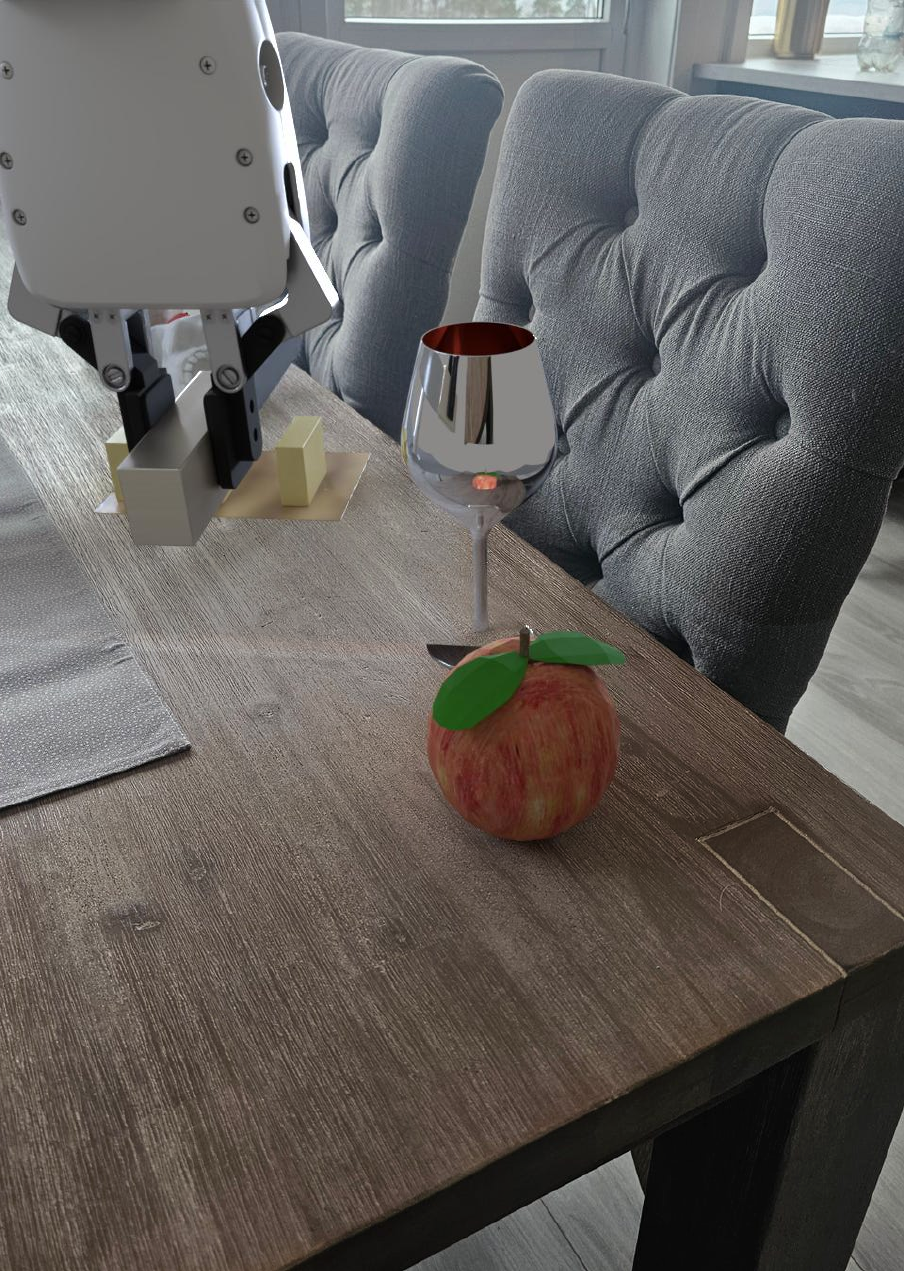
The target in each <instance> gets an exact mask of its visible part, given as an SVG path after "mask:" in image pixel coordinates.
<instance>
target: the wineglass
mask: <svg viewBox="0 0 904 1271" xmlns="http://www.w3.org/2000/svg"><path fill="white" fill-rule="evenodd" d="M542 358H543V357H542V355H541V350H540V346H539V343H538V339H537V335H536V334H535V332H533V331H532V330H531V329H529V328H526V327H523V326H520V325H518V324H514V323H507V322H499V321H484V320H483V321H481V320H480V321H461V322H453V323H449V324H444V325H440V326H437V327H434V328H432V329H429V330H427V331H425V333H423V334H422V335H421V337H420V341H419V344H418V348H417V352H416V356H415V361H414V364H413V370H412V374H411V379H410V383H409V387H408V392H407V397H406V403H405V407H404V413H403V417H402V419H403V420H402V424H401V433H400V453H401V458H402V462H403V465H404V468H405V470H406V472H407V474H408V476H409V478H410V479H411V480H412V482H413V484H414V485H415V486H416V487H417V489H418V490H419V491H420V492H421V493H422V494H423V495H424V496H425V497H426V498H427V499H428V500H429V501H431V502H432V503H433V504H434V505H436V506H437V507H439V508H440V509H442V510H443V511H444V512H446V513H448V514H449V515H451V516H452V517H454V518H455V519H456V520H458V522H460V523H461V524H462V525H463V526H465V528H466V529H467V531H468V532H469V533H470V535H471V537H472V564H473V565H472V568H473V571H472V574H473V577H472V578H473V614H472V624H471V629H472V630H473V632H477V633H484V632H485V633H486V632H487V631H489V630H490V628H491V627H490V622H489V608H488V606H489V605H488V539H489V538H488V537H489V535H490V534H491V531H492V530H493V528H494V527H495V526H496V525H497V524H498V523H500V521H501V520H503V519H504V518H505V517H507V516H509V515H510V514H511V513H513V512H514V511H516V510H517V509H518V508H519V507H521V506H522V505H523V504H525V503H526V502H528V501H529V500H530V499H531V498H532V497H533V496H534V495H535V494H537V493H538V491H539V490H540V489H541V488H542V486H543V485H544V484H545V482H546V481H547V479H548V478H549V476H550V475H551V473H552V471H553V469H554V466H555V464H556V460H557V456H558V448H559V434H558V426H557V419H556V415H555V409H554V405H553V400H552V396H551V391H550V386H549V383H548V378H547V374H546V370H545V367H544V362H543V359H542ZM525 628H527V629H529V630H530V637H534V638H536V637H535V634H534V632H533V631H532V629H531V628H530V627H529V626H528V624H526V625H525ZM481 647H483V646H477V645H457V644H456V645H455V644H435V643H433V644H432V643H426V650H427V652H428V654H429V655H430V657H431V658H432V659H433V660H434V661H435V662H437V663H438V664H439V665H441V666H443V667H444V668H447V669H449V670H452V669H453V668H454V667H455V666H456V665H457V664H458V663H459V662H460V661H461V660H462V659H463V658H464V657H465V656H467V655H468V654H469V653H471V652H473V651H475V650H477V649H479V648H481Z"/></svg>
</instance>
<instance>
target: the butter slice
mask: <svg viewBox="0 0 904 1271" xmlns="http://www.w3.org/2000/svg"><path fill="white" fill-rule="evenodd" d="M274 451H275V453H276V462H277V470H278V478H279V487H280V495H281V503H282V506H309V505H310V503H311V501H312V499H313V497H314V495H315V493H316V492H317V490H318V488H319V486H320V484H321V482H322V480H323V478H324V476H325V474H326V472H327V471H326V460H325V452H326V451H325V441H324V430H323V418H322V416H319V415H316V416H315V415H295V416H293V419H292V420H291V422H290V423H289V424H288V426H287V428H286V429H285V431H284V433H282V435H281V437H280V439H278V441H277V442H276V445H275V446H274Z"/></svg>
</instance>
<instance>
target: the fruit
mask: <svg viewBox="0 0 904 1271" xmlns="http://www.w3.org/2000/svg"><path fill="white" fill-rule="evenodd" d="M626 660H627V658H626V656H625V655H624V653H623V651H622V650H620V649H618V648H617V647H615V646H613V645H610V644H608V643H605V642H603V641H601V640H598V639H596V638H593V637H591V636H588V635H586V634H583V633H581V632H578V631H566V630H555V631H551V632H547V633H542V634H540V635H539V636H537V637H535V638H534V637H530V630H529V629H527V628H526V627H524V628H520V629H519V636H515V637H506V638H505V637H504V638H498V639H495V640H493V641H492V642H490V643H487V644H485V645H483V646H482V647H481V648H479V649H477V650H475V651H473V652H471V653H469V654H468V655H467V656H465V657H464V658H463V659H462V660H461V661H460V662H459V663H458V664H457V665H456V666H455V667H454V668H453V669H450V671H449V672H448V674H447V675H446V676H445V678H444V679H443V681H442V682H441V685H440V686H439V687H438V689H437V691H436V695H435V698H434V700H433V703H432V706H431V708H430V711H429V715H428V716H427V717H428V718H427V730H426V732H427V733H426V752H427V758H428V764H429V766H430V768H431V770H432V773H433V775H434V778H435V779H436V782H437V784H438V786H439V788H440V791H441V794H442V795H443V797H444V799H445V801H447V802H448V804H449V805H450V806H451V807H452V808H453V809H454V810H455V811H456V812H457V814H458V815H460V817H461V818H462V819H463V820H464V821H465V822H467V823H469V824H470V825H472V826H474V827H475V828H477V829H480V830H481V831H483V832H485V833H486V834H488V835H491V836H493V837H496V838H502V839H507V840H512V841H519V842H525V841H533V840H534V841H535V840H546V839H549V838H551V837H554V836H556V835H559V834H561V833H564V832H566V831H568V830H571V829H572V828H574V827H575V826H577V825H579V824H580V823H581V822H582V821H583V820H584V819H585V818H586V817H588V816H589V814H590V813H591V812H592V811H593V810H595V808H596V807H598V805H599V803H600V802H601V800H602V798H603V796H604V795H605V794H606V792H607V790H608V789H609V787H610V786H611V784H612V782H613V780H614V775H615V772H616V767H617V765H618V760H619V755H620V748H621V742H622V738H621V736H622V735H621V733H622V732H621V722H620V718H619V715H618V712H617V708H616V705H615V703H614V701H613V698H612V696H611V694H610V691H609V689H608V687H607V685H606V683H605V682H604V680H603V678H602V677H601V676H600V674H599V672H598V671H597V670H596V669H595V668H594V666H605V665H606V666H607V665H618V666H624V665H625V663H626Z"/></svg>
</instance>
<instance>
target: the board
mask: <svg viewBox="0 0 904 1271" xmlns="http://www.w3.org/2000/svg"><path fill="white" fill-rule="evenodd" d="M371 456H372V453H371V452H346V451H345V452H343V451H342V452H341V451H337V452H336V451H325V460H326V471H327V472H326V474H325V476H324V478H323V480H322V482H321V484H320V486H319V488H318V490H317V492H316V493H315V495H314V497H313V499H312V501H311V503H310V505H309V506H282V503H281V495H280V487H279V478H278V470H277V462H276V453H275V450H263V449H262V453H261V455H260V457H259V459H258V460H257V461H254V462H253V465H252V466H251V468H250V469H249V471H248V472H247V474H246V475H245V477H244V478H243V479H242V481H241V482H240V484H239V485H238V487H237V488H236V489H233V490H232V491H231V493H230V494H229V496H228V497H227V499H226V500H225V502H224V503H223V504H221V505H220V507H219V508H218V510H217V511H216V513H215V514H214V516H213V518H225V519H226V518H227V519H259V520H289V521H321V522H323V521H324V522H341V521H342V518H343V516H344V515H345V512H346V510H347V507H348V505H349V504H350V501H351V499H352V497H353V494H354V492H355V490H356V488H357V486H358V484H359V482H360V479H361V476H362V475H363V472H364V470H365V468H366V466H367V464H368V462H369V460H370V458H371ZM93 514H100V515H101V514H102V515H104V514H105V515H127V513H126V508H125V504H124V501H117V499H116V495H115V490H114V489H113V490H112V491H111V492H110V493H109V495H107V497H106V498H105V499H103V501H102V502H101V503H100V504H99V506H98V507H97V508H95V510H94V511H93Z"/></svg>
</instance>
